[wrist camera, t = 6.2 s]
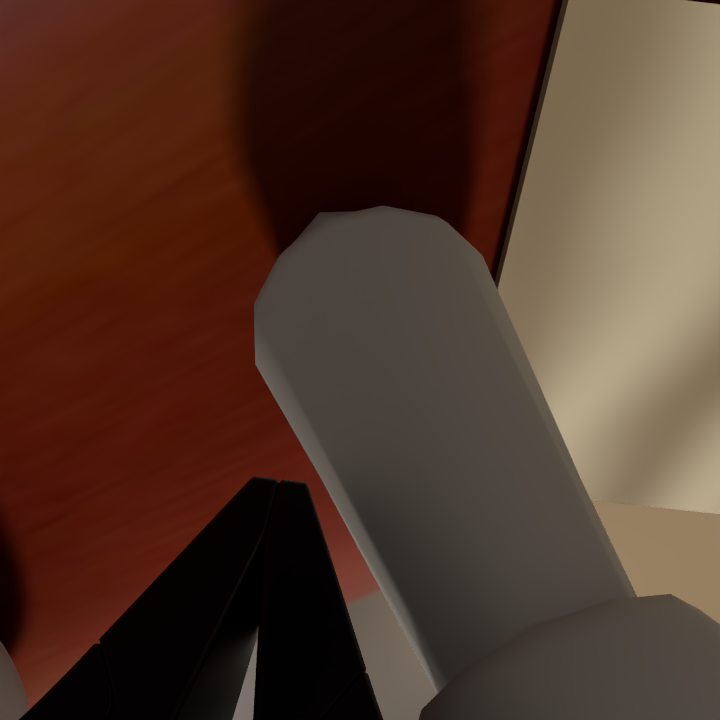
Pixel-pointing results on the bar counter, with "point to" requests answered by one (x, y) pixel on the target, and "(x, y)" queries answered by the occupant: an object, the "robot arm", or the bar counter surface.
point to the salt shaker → (465, 482)
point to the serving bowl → (10, 689)
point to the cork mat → (626, 249)
